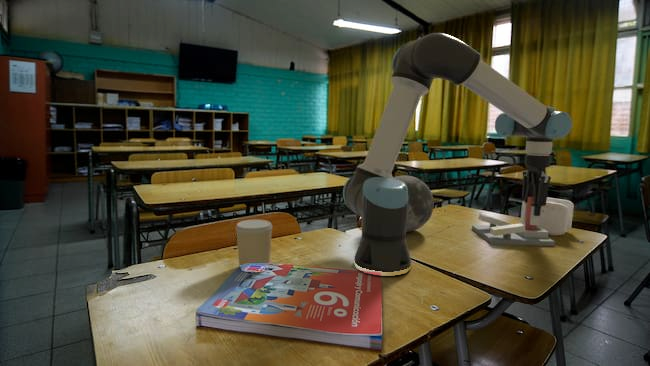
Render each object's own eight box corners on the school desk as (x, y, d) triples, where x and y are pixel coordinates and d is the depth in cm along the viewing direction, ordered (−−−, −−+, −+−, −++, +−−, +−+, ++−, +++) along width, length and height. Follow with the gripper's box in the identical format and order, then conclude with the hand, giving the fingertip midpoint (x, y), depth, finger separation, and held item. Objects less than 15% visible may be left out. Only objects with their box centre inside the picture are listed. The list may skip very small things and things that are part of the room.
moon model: (368, 234, 132) (370, 177, 129) (382, 220, 150) (385, 170, 147) (427, 242, 124) (431, 181, 121) (435, 227, 143) (438, 174, 139)
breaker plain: (481, 220, 134) (482, 215, 134) (477, 218, 137) (479, 213, 137) (507, 228, 135) (509, 223, 134) (504, 226, 138) (506, 220, 137)
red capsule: (528, 230, 128) (531, 198, 127) (522, 227, 132) (525, 196, 130) (538, 230, 128) (542, 198, 126) (533, 227, 132) (536, 196, 130)
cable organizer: (573, 232, 138) (577, 201, 136) (563, 238, 131) (567, 205, 129) (529, 224, 149) (533, 195, 147) (518, 228, 142) (521, 198, 141)
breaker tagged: (494, 236, 124) (494, 230, 123) (490, 233, 127) (490, 227, 127) (525, 231, 123) (525, 225, 123) (520, 228, 126) (520, 223, 126)
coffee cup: (259, 258, 107) (258, 217, 105) (279, 268, 100) (279, 224, 99) (229, 267, 101) (228, 223, 99) (249, 277, 94) (248, 230, 92)
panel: (491, 244, 123) (492, 234, 122) (471, 228, 141) (472, 219, 140) (554, 245, 123) (555, 235, 122) (526, 230, 140) (527, 220, 140)
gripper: (564, 157, 118) (556, 230, 121) (536, 152, 134) (529, 217, 138) (540, 156, 118) (532, 229, 122) (514, 152, 134) (508, 216, 138)
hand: (531, 223), depth 130 cm, fingers closed on red capsule, 3 cm apart
